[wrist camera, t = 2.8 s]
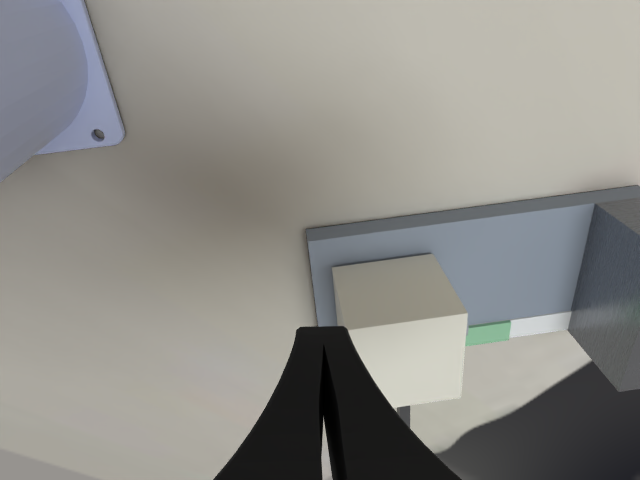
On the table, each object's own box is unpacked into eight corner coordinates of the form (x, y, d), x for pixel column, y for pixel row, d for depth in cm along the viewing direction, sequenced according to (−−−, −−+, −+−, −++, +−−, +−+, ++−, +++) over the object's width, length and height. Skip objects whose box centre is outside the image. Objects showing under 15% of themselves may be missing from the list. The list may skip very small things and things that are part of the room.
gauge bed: (320, 349, 27) (323, 368, 26) (305, 229, 23) (308, 244, 22) (604, 308, 28) (620, 325, 27) (638, 185, 24) (658, 197, 23)
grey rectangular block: (566, 329, 27) (618, 391, 23) (594, 203, 23) (664, 253, 19) (609, 322, 27) (668, 384, 23) (644, 196, 23) (724, 244, 19)
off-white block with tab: (342, 377, 27) (356, 448, 23) (331, 267, 23) (345, 330, 19) (443, 362, 27) (473, 430, 23) (449, 251, 23) (487, 310, 19)
